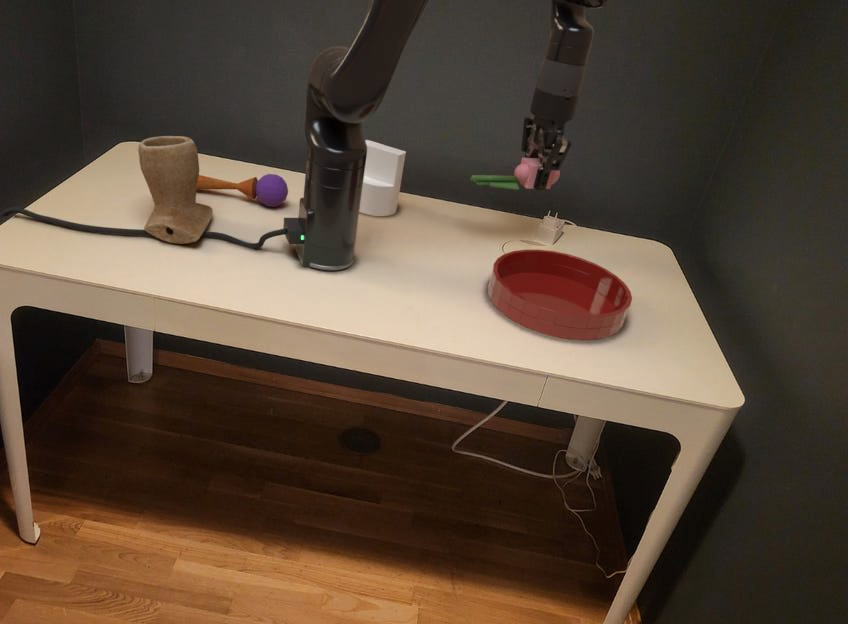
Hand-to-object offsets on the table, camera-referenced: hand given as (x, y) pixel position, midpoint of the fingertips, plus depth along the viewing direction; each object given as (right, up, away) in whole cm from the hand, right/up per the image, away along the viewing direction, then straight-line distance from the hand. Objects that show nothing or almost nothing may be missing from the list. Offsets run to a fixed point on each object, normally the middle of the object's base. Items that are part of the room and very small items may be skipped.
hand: (533, 183), depth 135 cm
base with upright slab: (-29, -2, +12) cm, 31 cm away
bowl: (+1, -23, -13) cm, 26 cm away
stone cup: (-63, -9, -7) cm, 65 cm away
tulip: (-4, 0, -1) cm, 4 cm away
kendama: (-55, -1, +6) cm, 56 cm away
